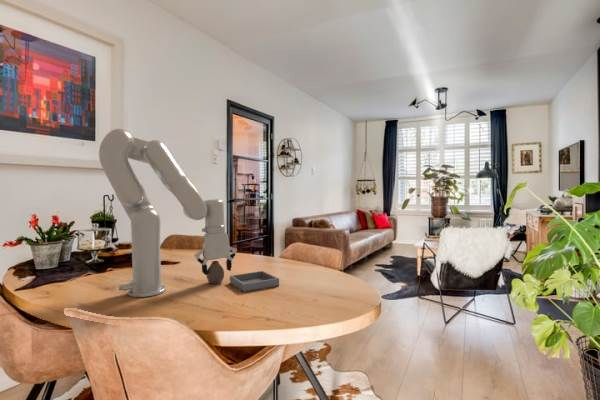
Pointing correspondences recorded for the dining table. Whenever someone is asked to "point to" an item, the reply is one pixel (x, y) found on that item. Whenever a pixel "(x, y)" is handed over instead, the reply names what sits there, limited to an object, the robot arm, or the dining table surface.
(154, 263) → the robot arm
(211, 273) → the vase
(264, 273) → the tray
